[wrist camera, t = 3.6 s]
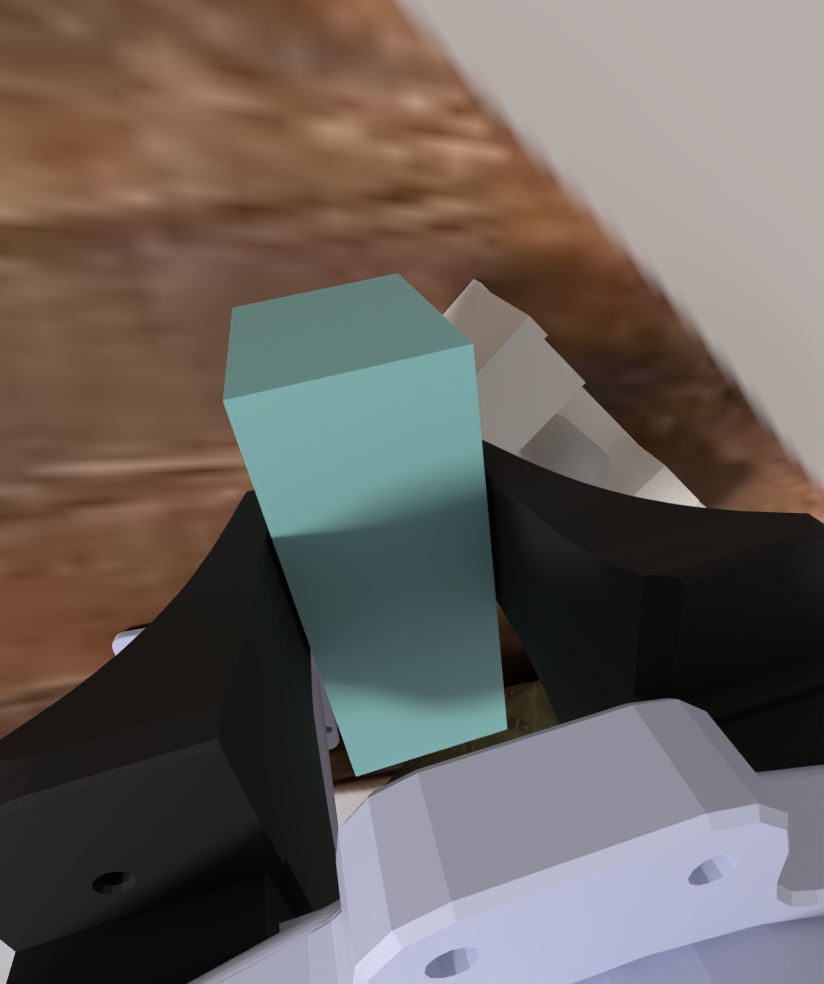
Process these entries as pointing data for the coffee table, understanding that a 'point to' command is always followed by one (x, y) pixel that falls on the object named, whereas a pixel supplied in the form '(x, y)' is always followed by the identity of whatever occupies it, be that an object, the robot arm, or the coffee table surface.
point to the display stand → (550, 405)
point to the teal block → (375, 507)
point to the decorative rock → (523, 717)
